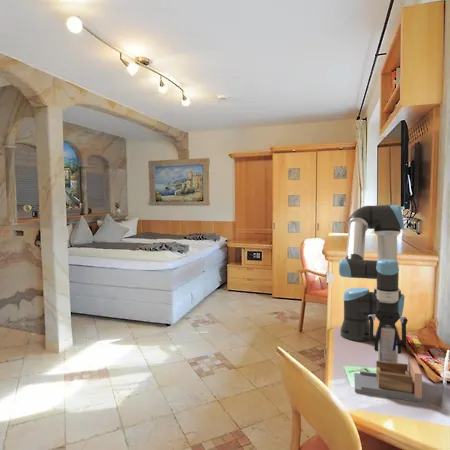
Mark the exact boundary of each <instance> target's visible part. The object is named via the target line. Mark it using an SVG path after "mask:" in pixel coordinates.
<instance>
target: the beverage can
mask: <svg viewBox="0 0 450 450" xmlns="http://www.w3.org/2000/svg"><path fill="white" fill-rule="evenodd" d="M379 342H380V361H384V362H393V363H396V343H397V341H396V330H395V329H393V328H392V326H390V325H384V327H383V328H382V327H381V335H380V338H379Z"/></svg>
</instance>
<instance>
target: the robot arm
mask: <svg viewBox="0 0 450 450" xmlns="http://www.w3.org/2000/svg"><path fill="white" fill-rule="evenodd" d="M346 227H347V229H348V232H347V233H348V234H347V242H346V249H345V250H346V251H345V258H343V259H340V260H339V263H338V274H339V276H340V277H343V278H349V279H350V278H353V279H368V280H369V279H371V280H376V286H375V287H374V288H373V291H370V290H369V288H367V287H353V288H348V289H346V290H344V292H343V321H342V324H341V327H340V329H339V330H340V333H339V334H340V336H341V337H342V338H344V339H346V340H350V341H355V342H367V341H370V342H372V343H373V344H374V348H373V349H374V351H375V352H377V361H380V335H381V327H382V328H383V327H384V325H390V326H392V328H393V329H395V330H396V363H399V361H398V360H399V355H400V354H401V353H402V345H403V346H404V345H405V346H406V345H407V343H408V342H407V324H408V318H407V317H406V316H403V312H404V305H405V294H404V293H402V289H400V287H399V279H400V278H399V277H400V276H399V274H400V273H399V271H400V267H399V262H398V236H399V235H400V234H401V230H403V229H404V228H405V224H404V216H403V211H402V208H401V206H399V205H395V204H394V205H393V204H383V205H380V204H379V205H363V206H360V207H359V208H357V209H356V210H355V211H353V212H352V214H351V215H350V216H349V218H348V220H347V223H346ZM368 230H373V233H374V234H375V235H376V237H377V260H374V259H373V260H372V259H371V260H370V259H369V260H368V259H365V248H366V232H367V231H368ZM375 320H378V321H379V323H378V325H377V330H376V333H375V335H374V324H375V323H374V321H375ZM398 321H400V324H401V339H400V336H399V333H398V332H399V331H398V330H397V325H396V324H397V322H398ZM398 354H399V355H398Z"/></svg>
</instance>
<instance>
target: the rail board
mask: <svg viewBox="0 0 450 450" xmlns="http://www.w3.org/2000/svg"><path fill="white" fill-rule="evenodd" d="M407 359H408V360H407V361H408V363H407V365H408V372H409V375H410V376H412V377H413V378H412V393H407V392H400V391H393V390H386V389H379V388H378V383H377V377H376V372H370V371H362V370H361V371H360V370H359V372H354V374H353V375H354V378H355V379H354V392H355V393H358V394H365V395H372V396H379V397H384V398H392V399H398V400H405V401H412V402H418V403H422V402H423V374H422V371H421V369H420V367H419V365H418V362H417V361H416V358H413V357H412V358H410V357H408V358H407Z"/></svg>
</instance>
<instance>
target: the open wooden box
mask: <svg viewBox="0 0 450 450" xmlns="http://www.w3.org/2000/svg"><path fill="white" fill-rule="evenodd" d="M375 363H376V365H375V367H376V372H375V373H376V377H377V383H378V388H379V389H386V390H393V391H400V392H407V393H412V378H413V377H412V376H410V375H409V372H408V363H401V362H398V363H393V362H384V361H378V360H376V361H375Z"/></svg>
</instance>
